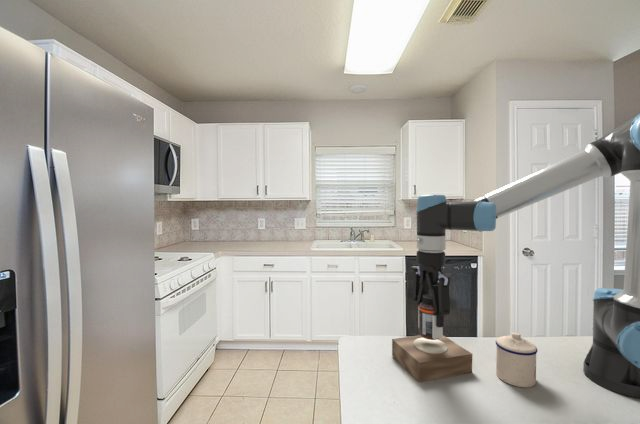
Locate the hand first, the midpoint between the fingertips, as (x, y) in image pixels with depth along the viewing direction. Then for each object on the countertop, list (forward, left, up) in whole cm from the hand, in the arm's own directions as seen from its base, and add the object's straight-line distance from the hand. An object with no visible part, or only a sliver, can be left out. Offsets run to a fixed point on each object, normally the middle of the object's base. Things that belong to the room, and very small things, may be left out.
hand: (430, 332), depth 88 cm
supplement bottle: (0, 0, -1) cm, 1 cm away
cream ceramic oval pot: (-11, -17, -9) cm, 22 cm away
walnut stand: (0, 0, -9) cm, 9 cm away
